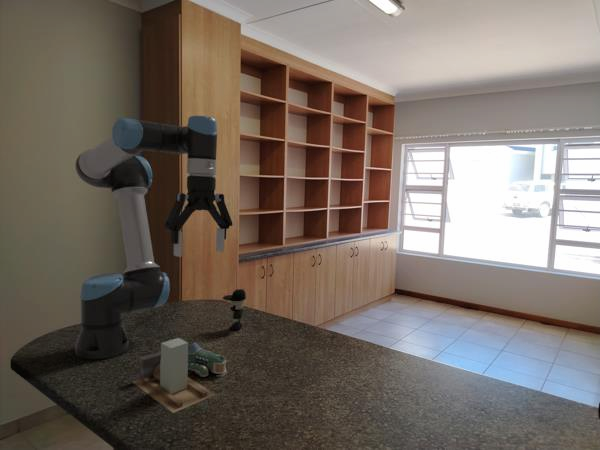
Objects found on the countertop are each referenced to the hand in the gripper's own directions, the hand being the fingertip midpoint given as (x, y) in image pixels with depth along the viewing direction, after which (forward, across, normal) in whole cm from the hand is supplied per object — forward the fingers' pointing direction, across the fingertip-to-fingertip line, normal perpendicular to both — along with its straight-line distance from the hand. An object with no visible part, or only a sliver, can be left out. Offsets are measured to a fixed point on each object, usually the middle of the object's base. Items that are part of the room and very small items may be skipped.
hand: (199, 253), depth 111 cm
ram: (+33, -10, -4) cm, 35 cm away
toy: (+35, +31, +22) cm, 51 cm away
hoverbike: (+35, +1, +5) cm, 35 cm away
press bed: (+35, -10, -4) cm, 36 cm away
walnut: (+34, -10, +2) cm, 35 cm away
